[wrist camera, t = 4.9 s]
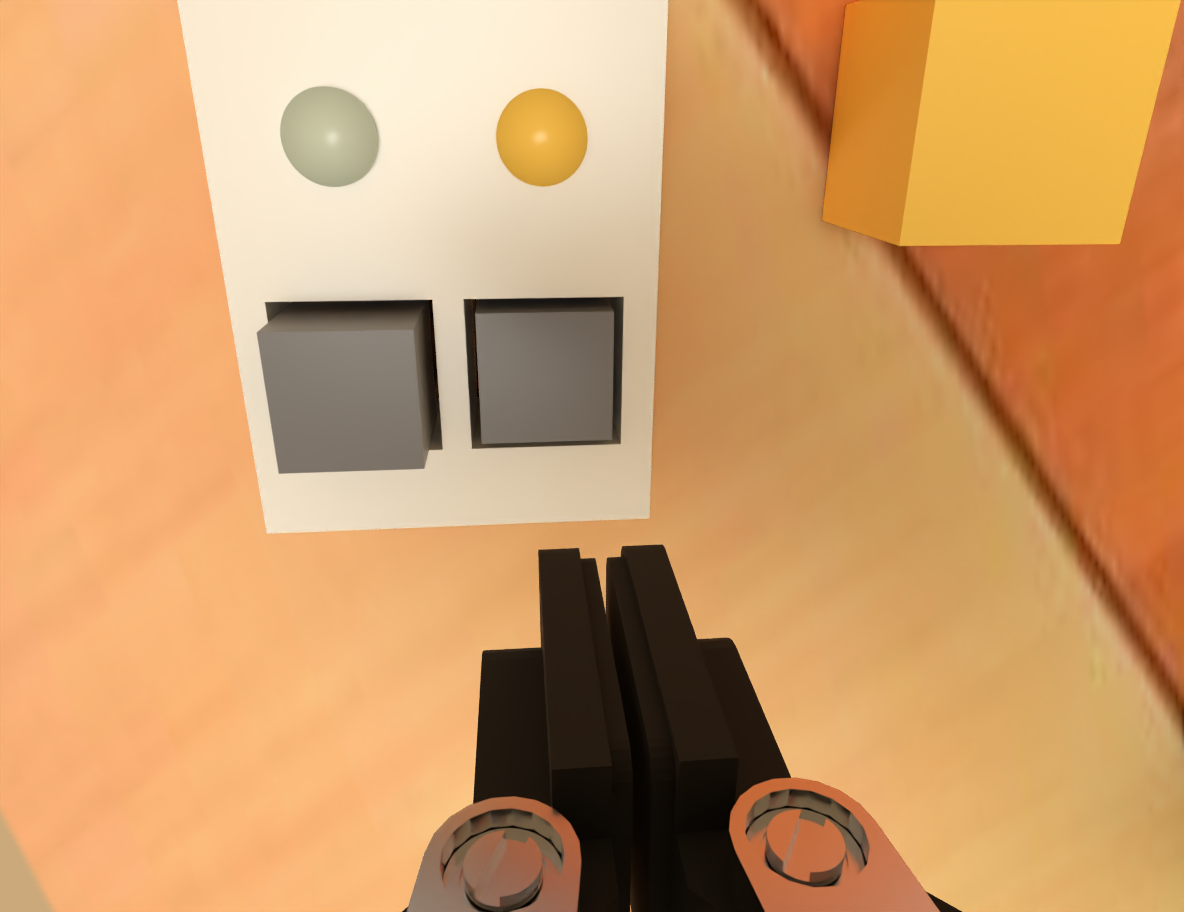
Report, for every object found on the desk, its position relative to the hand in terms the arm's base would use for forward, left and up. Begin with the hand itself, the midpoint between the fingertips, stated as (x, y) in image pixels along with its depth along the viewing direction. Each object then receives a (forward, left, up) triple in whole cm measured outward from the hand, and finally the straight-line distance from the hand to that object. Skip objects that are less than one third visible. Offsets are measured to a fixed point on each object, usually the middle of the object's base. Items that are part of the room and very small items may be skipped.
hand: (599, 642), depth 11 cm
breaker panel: (+3, -3, -17) cm, 17 cm away
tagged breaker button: (0, 0, -16) cm, 16 cm away
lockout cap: (-12, -7, -17) cm, 21 cm away
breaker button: (+5, 0, -14) cm, 15 cm away
